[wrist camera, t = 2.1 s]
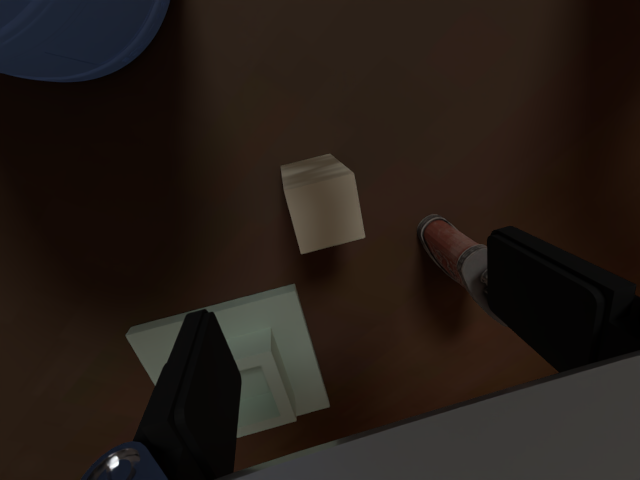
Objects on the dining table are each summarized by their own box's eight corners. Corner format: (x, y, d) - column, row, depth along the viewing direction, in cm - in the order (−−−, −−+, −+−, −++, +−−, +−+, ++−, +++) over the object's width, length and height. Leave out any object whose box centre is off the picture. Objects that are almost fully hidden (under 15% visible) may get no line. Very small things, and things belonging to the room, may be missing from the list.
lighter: (481, 263, 31) (568, 329, 22) (453, 285, 32) (526, 358, 23) (439, 205, 28) (519, 254, 19) (408, 231, 29) (473, 289, 19)
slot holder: (294, 283, 29) (298, 310, 25) (328, 397, 35) (335, 433, 31) (130, 326, 28) (108, 361, 25) (193, 435, 34) (184, 476, 31)
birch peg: (329, 153, 25) (354, 173, 18) (339, 201, 27) (365, 237, 19) (280, 166, 25) (283, 190, 18) (293, 213, 26) (301, 254, 19)
